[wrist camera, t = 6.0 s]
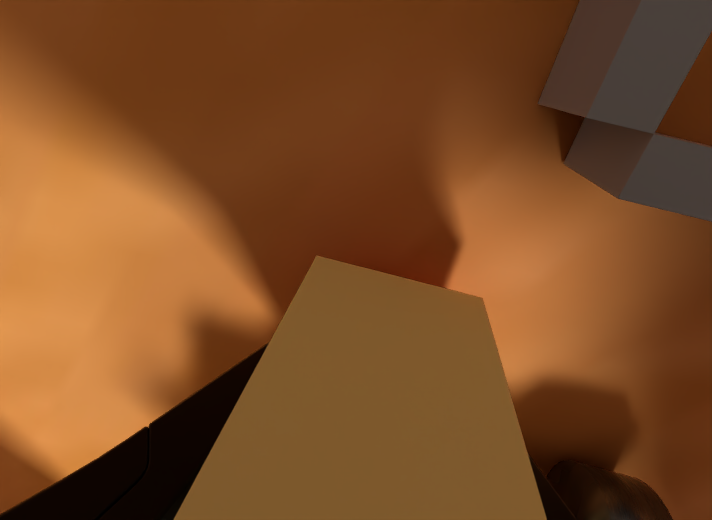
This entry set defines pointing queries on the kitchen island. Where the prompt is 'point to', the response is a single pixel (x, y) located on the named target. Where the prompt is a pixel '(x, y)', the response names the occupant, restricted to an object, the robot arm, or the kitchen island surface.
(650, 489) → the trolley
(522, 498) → the block
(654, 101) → the corner stop
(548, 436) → the kitchen island surface
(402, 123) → the kitchen island surface
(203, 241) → the kitchen island surface
